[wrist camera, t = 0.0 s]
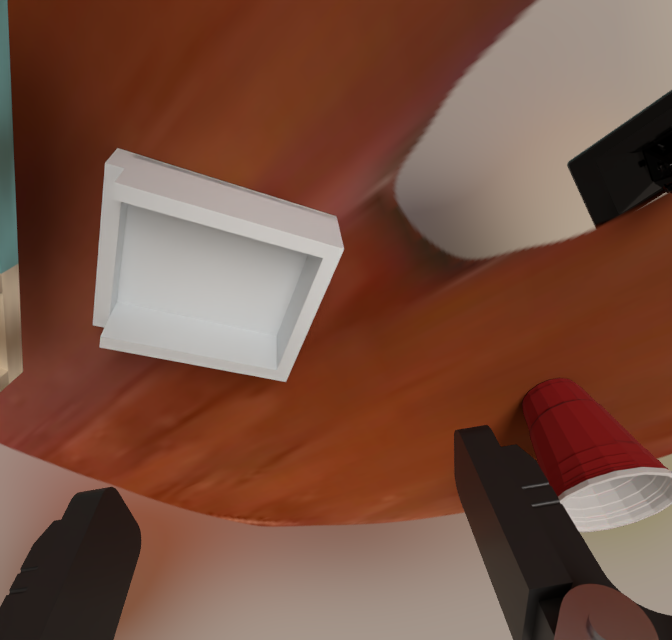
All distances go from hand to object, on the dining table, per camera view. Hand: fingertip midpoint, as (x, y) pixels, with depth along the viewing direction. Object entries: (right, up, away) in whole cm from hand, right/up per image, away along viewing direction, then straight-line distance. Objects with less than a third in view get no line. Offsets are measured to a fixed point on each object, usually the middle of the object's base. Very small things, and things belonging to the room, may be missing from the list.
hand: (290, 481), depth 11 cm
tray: (-8, +8, +21) cm, 24 cm away
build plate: (+24, +16, +20) cm, 35 cm away
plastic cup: (+23, -4, +35) cm, 42 cm away
